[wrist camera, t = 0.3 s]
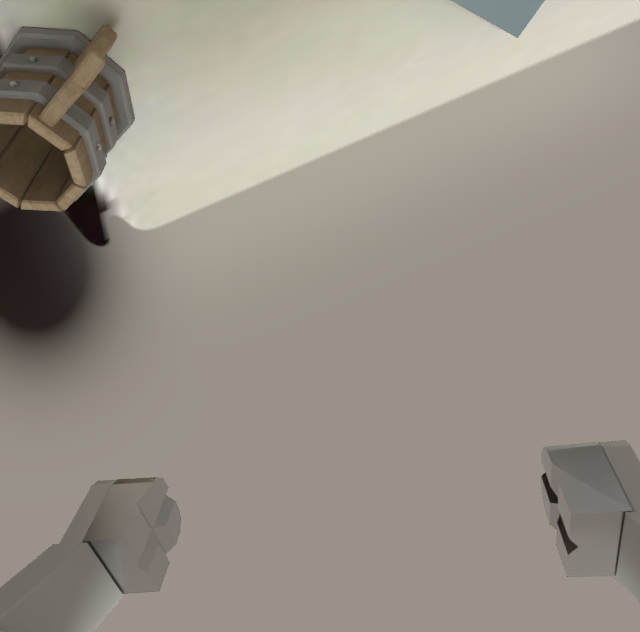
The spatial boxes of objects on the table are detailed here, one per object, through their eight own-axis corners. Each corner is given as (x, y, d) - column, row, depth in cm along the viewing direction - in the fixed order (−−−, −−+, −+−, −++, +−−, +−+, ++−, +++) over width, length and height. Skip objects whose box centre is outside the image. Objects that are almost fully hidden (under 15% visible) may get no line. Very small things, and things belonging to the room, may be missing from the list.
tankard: (92, 163, 63) (50, 248, 54) (-17, 85, 56) (-87, 167, 46) (198, 49, 53) (171, 128, 43) (83, -64, 46) (19, 1, 36)
